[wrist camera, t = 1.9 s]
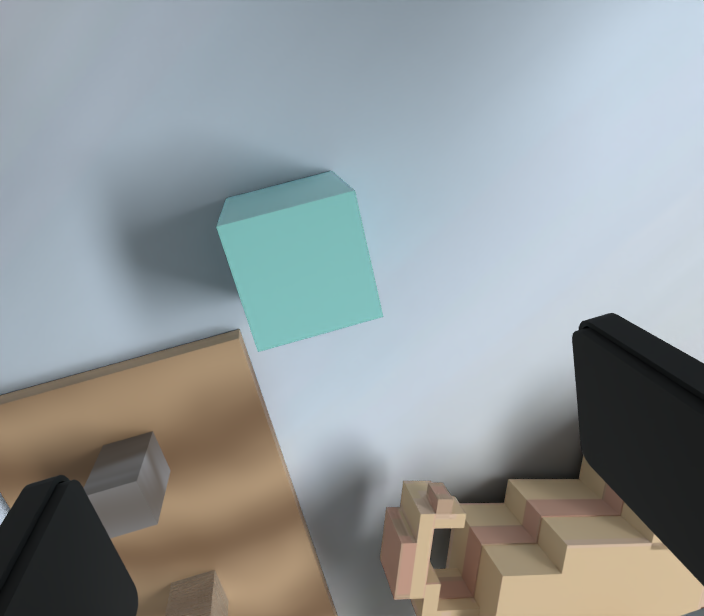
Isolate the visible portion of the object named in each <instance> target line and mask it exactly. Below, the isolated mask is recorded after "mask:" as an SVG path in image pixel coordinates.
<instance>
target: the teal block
mask: <svg viewBox="0 0 704 616" xmlns="http://www.w3.org/2000/svg"><path fill="white" fill-rule="evenodd" d="M216 228H217V231H218V234H219V237H220V240H221V243H222V246H223V249H224V252H225V255H226V258H227V261H228V264H229V267H230V270H231V273H232V276H233V279H234V282H235V285H236V288H237V291H238V294H239V297H240V300H241V303H242V306H243V308H244V311H245V314H246V317H247V320H248V323H249V326H250V329H251V332H252V335H253V338H254V341H255V344H256V347H257V350H258V352H260V351H263V350H267V349H270V348H274V347H278V346H281V345H285V344H288V343H292V342H295V341H299V340H302V339H306V338H310V337H313V336H317V335H320V334H324V333H327V332H331V331H334V330H338V329H342V328H345V327H349V326H352V325H356V324H359V323H363V322H367V321H370V320H374V319H377V318H381V317H383V313H382V309H381V305H380V300H379V296H378V291H377V287H376V282H375V278H374V274H373V269H372V265H371V260H370V256H369V251H368V247H367V243H366V238H365V234H364V229H363V225H362V220H361V216H360V212H359V207H358V203H357V198H356V194H355V190H354V189H352V188H351V187H350V186H349V185H348V184H347V183H346V182H344V181H343V180H342V179H341V178H340V177H339V176H337V175H336V174H335V173H334V172H333V171H329V172H325V173H321V174H317V175H313V176H310V177H306V178H302V179H298V180H294V181H290V182H286V183H283V184H279V185H275V186H271V187H267V188H263V189H259V190H256V191H252V192H248V193H244V194H240V195H236V196H233V197H229V198H226V200H225V203H224V206H223V209H222V212H221V215H220V218H219V220H218V223H217V226H216Z"/></svg>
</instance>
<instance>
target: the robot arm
mask: <svg viewBox="0 0 704 616" xmlns="http://www.w3.org/2000/svg"><path fill="white" fill-rule="evenodd" d="M572 343H573V355H574V367H575V380H576V392H577V404H578V416H579V428H580V440H581V449H582V452H583V455H584V457H585V459H586V461H587V462H588V464H589V465H590V466H591V467H592V468H593V470H594V471H595V472H596V473H597V474H598V475H599V476H600V477H601V478H602V479H603V480H604V481H605V482H606V483H607V484H608V485H609V486H610V488H611V489H612V490H613V491H614V492H615V493H616V494H617V495H618V496H619V497H620V498H621V499H622V500H623V501H624V502H625V503H626V504H627V506H628V507H629V508H630V509H631V510H632V511H633V512H634V513H635V514H636V515H637V516H638V517H639V518H640V519H641V520H642V521H643V523H644V524H645V525H646V526H647V527H648V528H649V529H650V530H651V531H652V532H653V533H654V534H655V535H656V536H657V537H658V538H659V539H660V541H661V542H662V543H663V544H664V545H665V546H666V547H667V548H668V549H669V550H670V551H671V552H672V553H673V554H674V555H675V556H676V557H677V559H678V560H679V561H680V562H681V563H682V564H683V565H684V566H685V567H686V568H687V569H688V570H689V571H690V572H691V573H692V574H693V576H694V577H695V578H696V579H697V580H698V581H699V582H700V583H701V584H702V585H703V586H704V363H702V362H700V361H698V360H697V359H695V358H693V357H691V356H689V355H688V354H686V353H684V352H682V351H681V350H679V349H677V348H675V347H673V346H672V345H670V344H668V343H666V342H665V341H663V340H661V339H659V338H658V337H656V336H654V335H652V334H650V333H649V332H647V331H645V330H643V329H642V328H640V327H638V326H636V325H634V324H633V323H631V322H629V321H627V320H626V319H624V318H622V317H620V316H619V315H617V314H614V313H609V314H605V315H602V316H599V317H595V318H592V319H588V320H585V321H582V322H581V323H580V326H579V330H578V331H575V332H574V333H573V336H572ZM137 610H138V593H137V589H136V586H135V584H134V582H133V580H132V578H131V577H130V575H129V573H128V571H127V569H126V567H125V565H124V563H123V562H122V560H121V558H120V556H119V554H118V552H117V550H116V548H115V547H114V545H113V543H112V541H111V539H110V537H109V535H108V533H107V531H106V530H105V528H104V526H103V524H102V522H101V520H100V518H99V516H98V515H97V513H96V511H95V509H94V507H93V505H92V503H91V501H90V500H89V498H88V496H87V494H86V492H85V490H84V488H83V486H82V485H81V483H80V482H79V481H78V480H75V479H74V480H69V478H67V477H66V476H65V475H58V476H55V477H51V478H48V479H45V480H41V481H38V482H34V483H31V484H28V485H26V486H25V487H24V488H23V489H22V491H21V493H20V494H19V496H18V498H17V499H16V501H15V503H14V504H13V506H12V507H11V509H10V511H9V512H8V514H7V516H6V517H5V519H4V521H3V522H2V524H1V525H0V616H136V614H137ZM681 616H704V608H702V609H699V610H696V611H693V612H690V613H687V614H684V615H681Z"/></svg>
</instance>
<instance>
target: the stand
mask: <svg viewBox="0 0 704 616" xmlns="http://www.w3.org/2000/svg"><path fill="white" fill-rule="evenodd" d="M58 475H65V476H66V477H67V478H69V480H74V479H75V480H78V481H79V482H80V483H81V485H82V486H83V488H84V490H85V492H86V494H87V496H88V498H89V500H90V501H91V503H92V505H93V507H94V509H95V511H96V513H97V515H98V516H99V518H100V520H101V522H102V524H103V526H104V528H105V530H106V531H107V533H108V535H109V537H110V539H111V541H112V543H113V545H114V547H115V548H116V550H117V552H118V554H119V556H120V558H121V560H122V562H123V563H124V565H125V567H126V569H127V571H128V573H129V575H130V577H131V578H132V580H133V582H134V584H135V586H136V589H137V593H138V610H137V614H136V616H165V614H166V609H167V603H168V598H169V592H170V587H171V583H173V582H176V581H179V580H182V579H186V578H189V577H192V576H195V575H199V574H202V573H205V572H208V571H212V570H215V571H216V573H217V576H218V578H219V580H220V582H221V584H222V587H223V589H224V591H225V593H226V596H227V598H228V600H229V601H228V616H338V615H337V612H336V610H335V607H334V604H333V601H332V598H331V595H330V592H329V589H328V586H327V583H326V580H325V577H324V574H323V572H322V569H321V566H320V563H319V560H318V557H317V554H316V551H315V548H314V545H313V542H312V539H311V536H310V534H309V531H308V528H307V525H306V522H305V519H304V516H303V513H302V510H301V507H300V504H299V501H298V499H297V496H296V493H295V490H294V487H293V484H292V481H291V478H290V475H289V472H288V469H287V466H286V463H285V461H284V458H283V455H282V452H281V449H280V446H279V443H278V440H277V437H276V434H275V431H274V428H273V425H272V423H271V420H270V417H269V414H268V411H267V408H266V405H265V402H264V399H263V396H262V393H261V390H260V387H259V385H258V382H257V379H256V376H255V373H254V370H253V367H252V364H251V361H250V358H249V355H248V352H247V349H246V347H245V344H244V341H243V338H242V335H241V332H240V329H238V330H235V331H231V332H227V333H224V334H220V335H217V336H213V337H209V338H206V339H202V340H199V341H195V342H191V343H188V344H184V345H181V346H177V347H173V348H170V349H166V350H162V351H159V352H155V353H152V354H148V355H144V356H141V357H137V358H134V359H130V360H126V361H123V362H119V363H116V364H112V365H108V366H105V367H101V368H98V369H94V370H90V371H87V372H83V373H79V374H76V375H72V376H69V377H65V378H61V379H58V380H54V381H51V382H47V383H43V384H40V385H36V386H33V387H29V388H25V389H22V390H18V391H15V392H11V393H7V394H4V395H0V493H1V494H2V496H3V498H4V499H5V501H6V503H7V504H8V506H9V507H10V509H11V507H12V506H13V504H14V503H15V501H16V499H17V498H18V496H19V494H20V493H21V491H22V489H23V488H24V487H25V486H26V485H28V484H31V483H34V482H38V481H41V480H45V479H48V478H51V477H55V476H58Z"/></svg>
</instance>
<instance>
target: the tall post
mask: <svg viewBox="0 0 704 616" xmlns="http://www.w3.org/2000/svg"><path fill="white" fill-rule="evenodd" d="M228 601H229V600H228V598H227V596H226V593H225V591H224V589H223V587H222V584H221V582H220V580H219V578H218V576H217V573H216V571H215V570H212V571H208V572H205V573H202V574H199V575H195V576H192V577H189V578H186V579H182V580H179V581H176V582H173V583H171V587H170V592H169V598H168V603H167V609H166V614H165V616H228Z"/></svg>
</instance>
